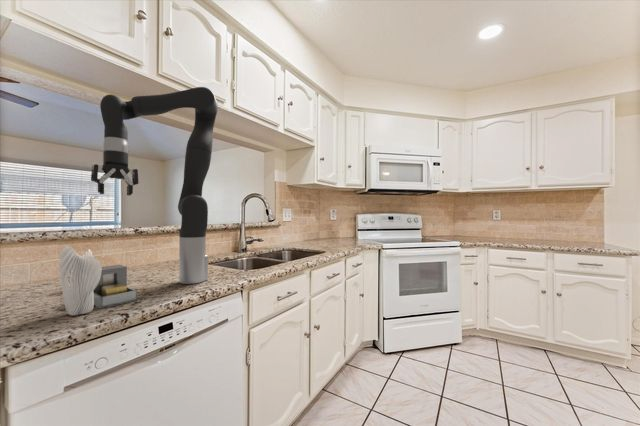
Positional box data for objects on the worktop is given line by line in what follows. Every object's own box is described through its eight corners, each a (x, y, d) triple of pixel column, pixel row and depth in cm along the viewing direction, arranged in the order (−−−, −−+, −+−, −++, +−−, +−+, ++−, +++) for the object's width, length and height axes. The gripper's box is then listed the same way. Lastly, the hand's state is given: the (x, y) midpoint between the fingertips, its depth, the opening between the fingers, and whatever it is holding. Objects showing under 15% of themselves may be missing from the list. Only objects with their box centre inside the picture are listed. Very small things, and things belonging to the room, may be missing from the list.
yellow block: (121, 283, 85) (126, 285, 83) (121, 296, 85) (126, 299, 83) (101, 287, 81) (106, 289, 79) (101, 300, 81) (106, 303, 79)
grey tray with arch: (120, 292, 91) (120, 264, 91) (137, 300, 83) (137, 269, 83) (85, 299, 84) (85, 268, 84) (100, 308, 76) (100, 274, 76)
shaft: (92, 280, 99) (92, 258, 99) (114, 290, 86) (114, 265, 86) (82, 282, 97) (82, 259, 97) (102, 293, 84) (102, 266, 84)
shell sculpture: (94, 305, 79) (94, 242, 79) (102, 312, 73) (102, 244, 73) (54, 313, 72) (54, 244, 72) (59, 321, 67) (60, 247, 67)
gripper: (133, 156, 112) (133, 196, 112) (88, 149, 100) (88, 194, 100) (141, 153, 107) (141, 195, 107) (95, 146, 96) (95, 193, 96)
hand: (115, 194), depth 104 cm, fingers open, 8 cm apart
